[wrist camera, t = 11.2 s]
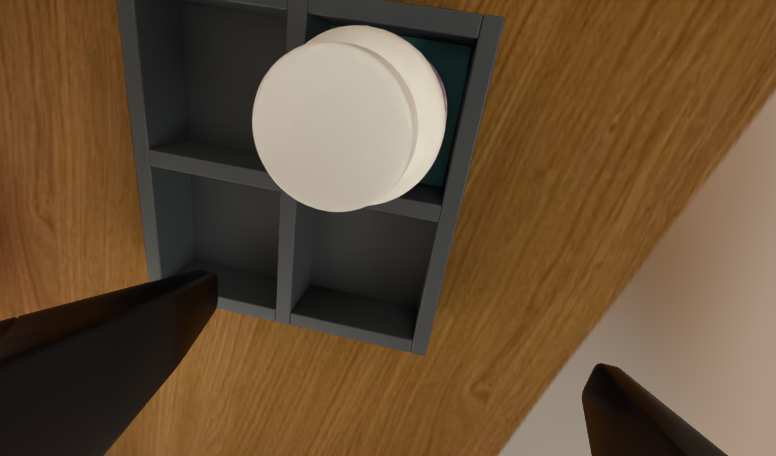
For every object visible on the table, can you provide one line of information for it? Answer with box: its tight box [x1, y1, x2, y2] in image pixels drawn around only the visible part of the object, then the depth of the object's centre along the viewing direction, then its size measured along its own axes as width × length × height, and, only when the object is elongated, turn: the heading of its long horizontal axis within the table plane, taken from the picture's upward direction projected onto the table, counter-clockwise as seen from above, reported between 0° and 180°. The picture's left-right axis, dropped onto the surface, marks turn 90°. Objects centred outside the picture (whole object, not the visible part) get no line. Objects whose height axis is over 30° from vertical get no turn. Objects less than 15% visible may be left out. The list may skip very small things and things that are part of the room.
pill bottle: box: [252, 25, 447, 212], centre depth 13 cm, size 5×5×10 cm
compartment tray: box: [116, 0, 505, 356], centre depth 19 cm, size 15×15×4 cm
